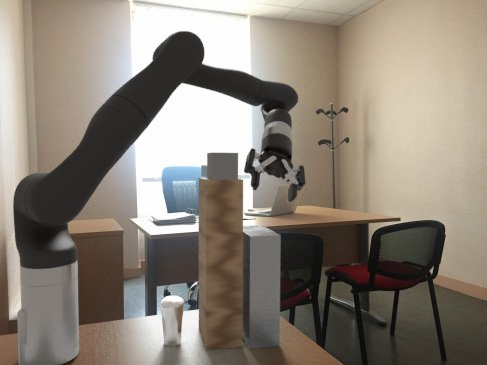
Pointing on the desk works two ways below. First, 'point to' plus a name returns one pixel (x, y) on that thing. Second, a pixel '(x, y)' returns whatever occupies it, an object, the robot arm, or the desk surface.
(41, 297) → the robot arm
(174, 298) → the milkshake
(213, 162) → the block
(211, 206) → the walnut stand
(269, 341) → the tall grey pillar
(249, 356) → the desk surface
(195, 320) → the desk surface
